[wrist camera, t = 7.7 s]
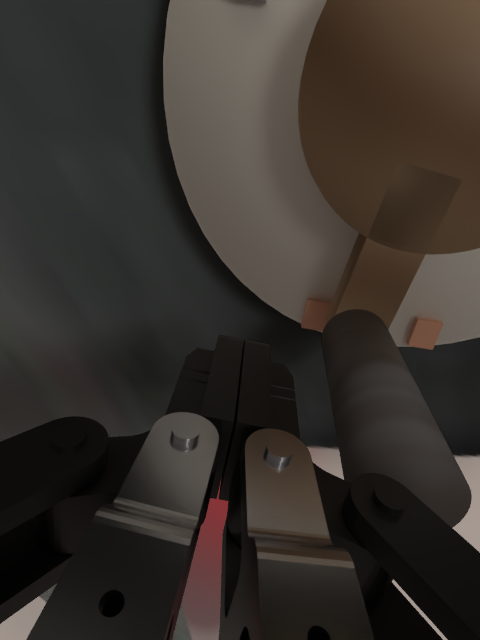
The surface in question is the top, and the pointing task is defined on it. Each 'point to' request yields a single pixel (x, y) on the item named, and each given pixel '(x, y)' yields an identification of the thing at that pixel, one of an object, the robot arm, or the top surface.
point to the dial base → (279, 170)
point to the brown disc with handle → (392, 213)
